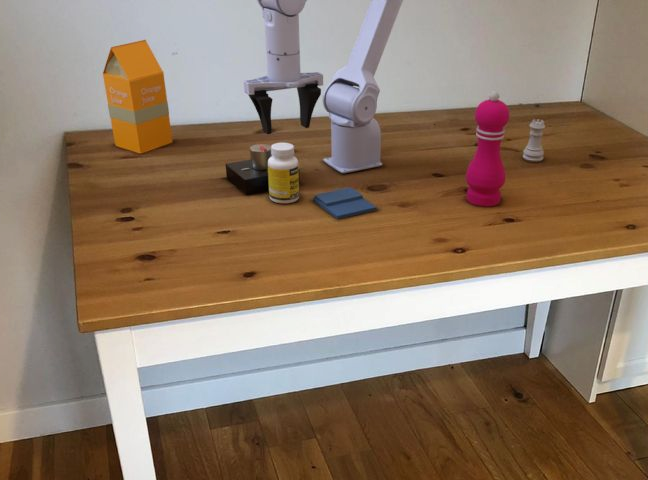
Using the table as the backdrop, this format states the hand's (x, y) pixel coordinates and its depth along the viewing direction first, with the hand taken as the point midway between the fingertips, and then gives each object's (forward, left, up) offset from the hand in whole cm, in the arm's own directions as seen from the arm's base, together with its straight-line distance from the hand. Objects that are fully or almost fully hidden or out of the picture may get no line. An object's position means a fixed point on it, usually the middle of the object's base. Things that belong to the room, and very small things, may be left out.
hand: (286, 129), depth 140 cm
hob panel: (+4, -3, -10) cm, 11 cm away
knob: (+4, -3, -7) cm, 9 cm away
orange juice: (+17, -33, -11) cm, 39 cm away
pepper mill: (-28, +24, -11) cm, 38 cm away
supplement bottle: (+4, +6, -11) cm, 13 cm away
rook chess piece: (-51, +12, -11) cm, 54 cm away
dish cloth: (-4, +14, -10) cm, 18 cm away
